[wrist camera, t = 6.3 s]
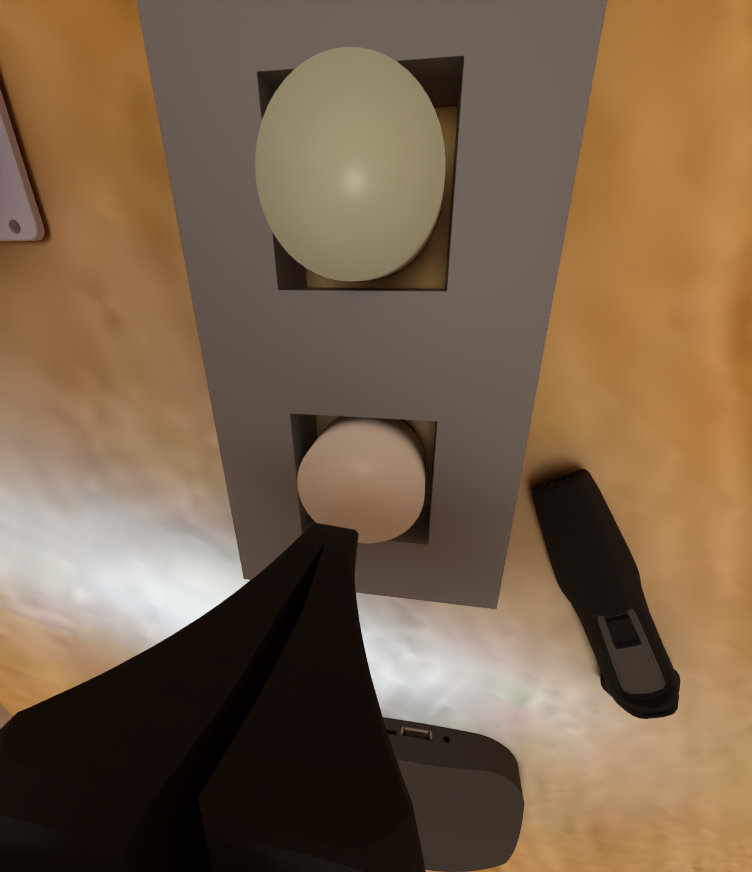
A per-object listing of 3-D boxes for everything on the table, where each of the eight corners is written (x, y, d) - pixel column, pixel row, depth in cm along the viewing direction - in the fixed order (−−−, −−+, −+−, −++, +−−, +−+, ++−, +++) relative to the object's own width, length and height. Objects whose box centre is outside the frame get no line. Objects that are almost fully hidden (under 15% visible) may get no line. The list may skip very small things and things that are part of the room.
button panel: (269, 539, 21) (243, 578, 18) (101, -643, 8) (-70, -1116, 5) (487, 561, 19) (496, 609, 16) (714, -873, 6) (920, -1728, 4)
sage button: (294, 280, 13) (266, 280, 11) (280, 98, 11) (242, 55, 9) (437, 281, 12) (438, 281, 10) (450, 87, 10) (453, 37, 8)
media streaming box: (497, 838, 31) (503, 893, 28) (326, 804, 33) (316, 852, 30) (526, 734, 25) (537, 791, 22) (316, 700, 27) (302, 748, 24)
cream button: (318, 505, 18) (302, 537, 16) (311, 406, 16) (291, 427, 14) (422, 514, 17) (420, 549, 15) (429, 412, 15) (428, 436, 13)
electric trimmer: (590, 436, 16) (622, 469, 13) (671, 670, 21) (709, 733, 18) (506, 465, 17) (519, 502, 15) (600, 681, 22) (624, 742, 19)
